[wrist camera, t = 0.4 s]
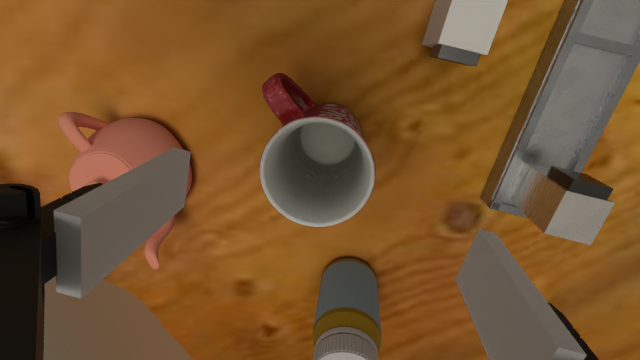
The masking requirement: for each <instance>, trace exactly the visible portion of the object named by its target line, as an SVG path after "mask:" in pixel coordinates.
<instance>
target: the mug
mask: <svg viewBox="0 0 640 360" xmlns="http://www.w3.org/2000/svg"><path fill="white" fill-rule="evenodd" d="M262 92H263V95H264V98H265V100H266V102H267V104H268V105H269V107H270V109H271V110H272V111H273V113H274V114H275V115H276V117H277V118H278V119H279V120H280V121H281V123H282V124H283V127H282V128H280V129H279V130H278V131H277V132H276V133H275V134H274V135H273V136H272V137H271V139H270V140H269V141H268V143H267V145H266V147H265V148H264V151H263V153H262V156H261V161H260V180H261V185H262V188H263V190H264V193H265V195H266V197H267V199H268V200H269V202H270V203H271V204H272V205H273V207H274V208H275V209H276V210H277V211H278V212H280V213H281V214H282V215H283V216H285V217H286V218H288V219H290V220H291V221H294V222H296V223H298V224H302V225H306V226H312V227H325V226H331V225H335V224H339V223H341V222H344V221H346V220H347V219H349V218H351V217H352V216H354V215H355V214H356V213H357V212H359V211H360V210H361V209H362V207H363V206H364V205H365V204H366V202H367V201H368V199H369V197H370V195H371V193H372V191H373V187H374V183H375V174H376V172H375V163H374V158H373V155H372V152H371V150H370V148H369V146H368V145H367V143H366V141H365V140H364V137H363V134H362V132H361V128H360V125H359V123H358V121H357V119H356V118H355V116H354V115H353V114H352V113H351V112H350V111H349V110H347V109H346V108H344V107H342V106H340V105H337V104H332V103H323V104H319V105H317V104H315V103H314V102H313V101H312V100H311V99H310V97H309V96H308V95H307V94H306V93H305V92H304V91H303V90H302V89H301V88H300V87H299V86H298V85H297V84H296V83H295V82H294V81H293V80H292V79H291V78H289V77H288V76H287V75H285V74H283V73H277V74H275V75H273V76H272V77H270V78H269V79H268V80H267V81H266V82H265V83H264V84H263V86H262Z"/></svg>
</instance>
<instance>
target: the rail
mask: <svg viewBox="0 0 640 360" xmlns="http://www.w3.org/2000/svg"><path fill="white" fill-rule="evenodd" d="M639 62H640V0H565V1H564V3H563V6H562V8H561V10H560V13H559V15H558V17H557V20H556V22H555V24H554V27H553V29H552V31H551V34H550V36H549V38H548V41H547V43H546V45H545V48H544V50H543V52H542V55H541V57H540V59H539V62H538V64H537V66H536V69H535V71H534V73H533V76H532V78H531V80H530V83H529V85H528V87H527V90H526V92H525V94H524V97H523V99H522V101H521V104H520V106H519V108H518V111H517V113H516V115H515V118H514V120H513V122H512V125H511V127H510V129H509V132H508V134H507V136H506V139H505V141H504V143H503V146H502V148H501V150H500V153H499V155H498V157H497V160H496V162H495V164H494V167H493V169H492V171H491V174H490V176H489V178H488V181H487V183H486V185H485V188H484V190H483V192H482V195H481V198H482V200H483V201H484V202H485V203H486V204H487V206H488V207H489V208H490V209H494V210H498V211H502V212H506V213H510V214H514V215H518V216H522V217H526V218H529V219H530V220H531V221H532V222H533V223H534V224H535V225H536V226H537V227H538V228H539V229H540V230H541V231H542V232H543V233H545V234H549V235H553V236H557V237H561V238H565V239H569V240H573V241H577V242H581V243H585V244H589V245H591V244H592V242H593V240H594V238H595V237H596V235H597V233H598V232H599V230H600V228H601V226H602V225H603V223H604V221H605V220H606V218H607V216H608V214H609V213H610V211H611V209H612V208H613V206H614V204H615V203H614V202H613V201H611V200H609V199H608V197H609V196H610V194H611V192H612V190H613V188H611V187H609V186H607V185H605V184H604V183H602V182H600V181H598V180H596V179H594V178H592V177H591V176H589V175H587V174H583V173H581V172H582V170H583V168H584V166H585V165H586V163H587V161H588V159H589V157H590V155H591V153H592V151H593V149H594V147H595V146H596V144H597V142H598V140H599V138H600V136H601V134H602V132H603V130H604V128H605V126H606V125H607V123H608V121H609V119H610V117H611V115H612V113H613V111H614V109H615V107H616V106H617V104H618V102H619V100H620V98H621V96H622V94H623V92H624V90H625V88H626V87H627V85H628V83H629V81H630V79H631V77H632V75H633V73H634V71H635V69H636V68H637V66H638V64H639Z"/></svg>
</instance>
